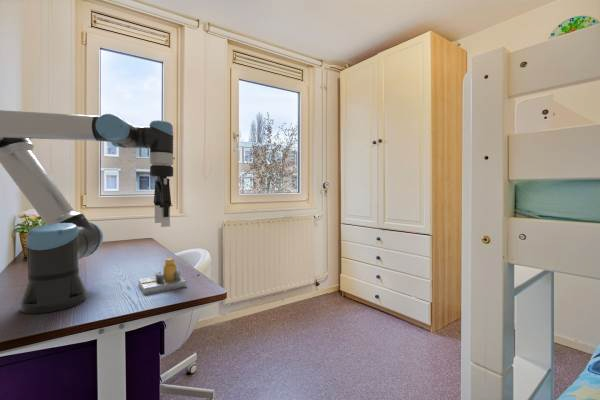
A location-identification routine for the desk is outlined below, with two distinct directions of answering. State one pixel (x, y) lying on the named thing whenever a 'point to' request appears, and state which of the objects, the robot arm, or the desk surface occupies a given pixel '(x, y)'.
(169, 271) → the beige block
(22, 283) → the desk surface
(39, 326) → the desk surface
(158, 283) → the junction plate
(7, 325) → the desk surface
